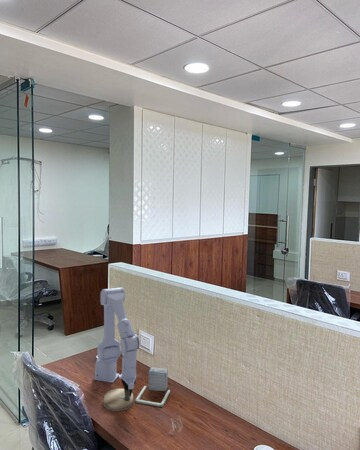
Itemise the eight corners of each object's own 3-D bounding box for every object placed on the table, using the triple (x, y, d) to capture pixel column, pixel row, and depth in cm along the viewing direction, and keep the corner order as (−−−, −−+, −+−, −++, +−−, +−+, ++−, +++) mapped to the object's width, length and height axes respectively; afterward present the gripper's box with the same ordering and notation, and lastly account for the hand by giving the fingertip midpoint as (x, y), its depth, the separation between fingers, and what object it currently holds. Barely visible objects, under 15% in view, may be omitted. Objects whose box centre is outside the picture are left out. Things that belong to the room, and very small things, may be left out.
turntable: (97, 403, 147) (97, 389, 146) (116, 390, 157) (116, 376, 157) (120, 413, 141) (121, 398, 140) (138, 398, 151) (139, 384, 151)
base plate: (98, 407, 144) (98, 407, 144) (111, 391, 156) (111, 391, 156) (126, 413, 141) (126, 412, 141) (137, 396, 153) (137, 396, 153)
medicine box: (167, 386, 162) (167, 368, 162) (165, 391, 158) (166, 373, 157) (150, 385, 163) (150, 366, 162) (148, 390, 159) (148, 371, 158)
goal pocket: (134, 402, 149) (134, 400, 149) (144, 387, 161) (144, 385, 161) (162, 407, 147) (162, 405, 146) (170, 391, 158) (170, 389, 158)
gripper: (117, 357, 152) (116, 387, 154) (121, 375, 139) (120, 407, 140) (133, 355, 154) (132, 385, 156) (139, 373, 140) (138, 405, 142)
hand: (128, 396), depth 148 cm, fingers closed, pressing on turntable
